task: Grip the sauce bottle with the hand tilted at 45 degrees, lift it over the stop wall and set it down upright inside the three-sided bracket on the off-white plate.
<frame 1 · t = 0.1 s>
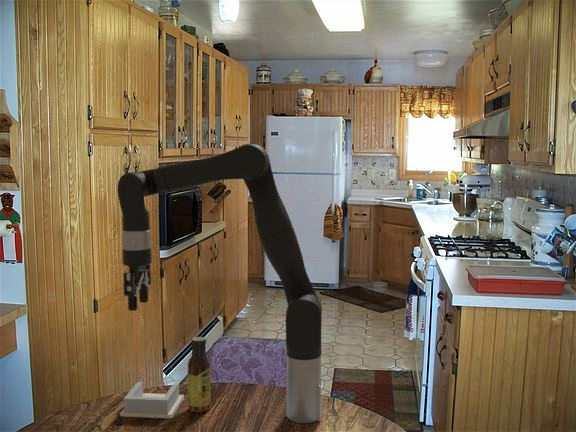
hand: (138, 306, 158), 29 cm above the table, tool pointing down, fingers open, 8 cm apart
sauce bottle: (199, 409, 162), on the table
lock plate: (153, 406, 163), on the table
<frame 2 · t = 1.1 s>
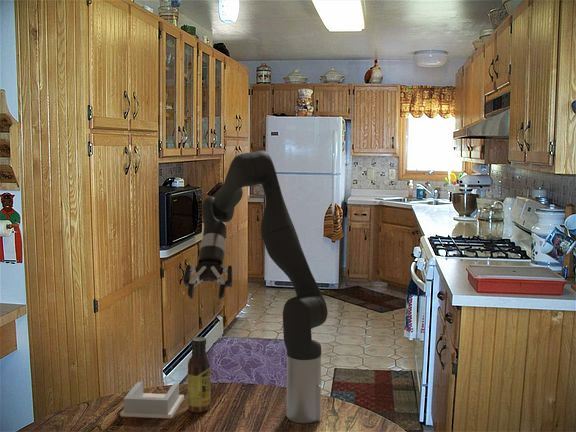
hand: (205, 297, 170), 29 cm above the table, tool tilted 45°, fingers open, 8 cm apart
nothing on the table moved.
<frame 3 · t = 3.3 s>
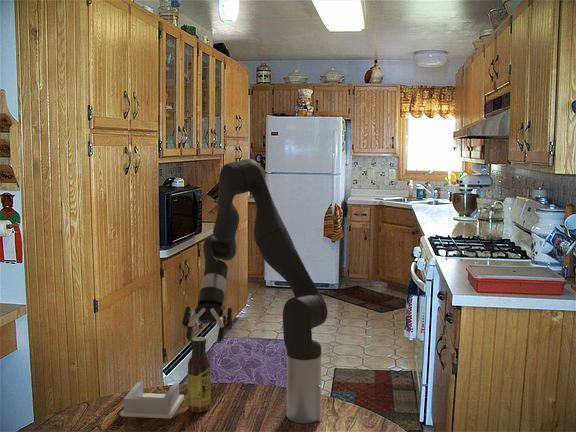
hand: (204, 341, 167), 17 cm above the table, tool tilted 45°, fingers open, 8 cm apart
nothing on the table moved.
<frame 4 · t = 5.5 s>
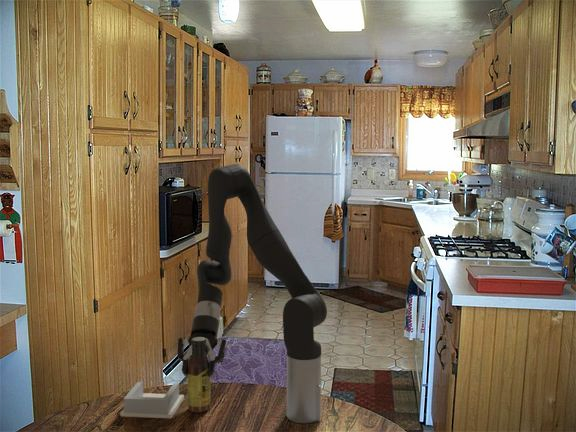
hand: (197, 375, 159), 10 cm above the table, tool tilted 45°, fingers closed on sauce bottle, 6 cm apart
sauce bottle: (199, 409, 162), on the table, touching gripper
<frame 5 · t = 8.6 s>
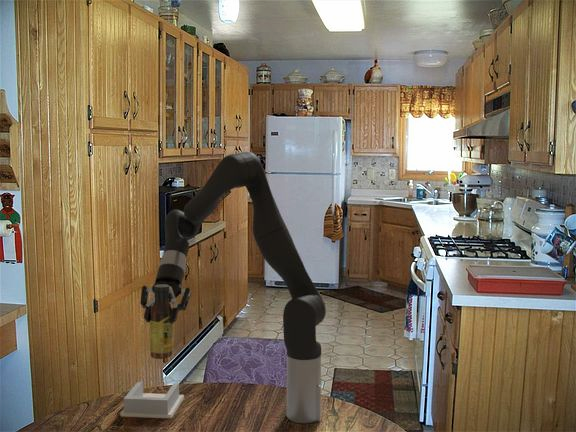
hand: (159, 321, 159), 25 cm above the table, tool tilted 45°, fingers closed on sauce bottle, 6 cm apart
sauce bottle: (161, 356, 162), point 14 cm above the table, touching gripper
when the fingers open (12 cm above the table, at t = 11.8 s): sauce bottle stays where it is, resting on lock plate.
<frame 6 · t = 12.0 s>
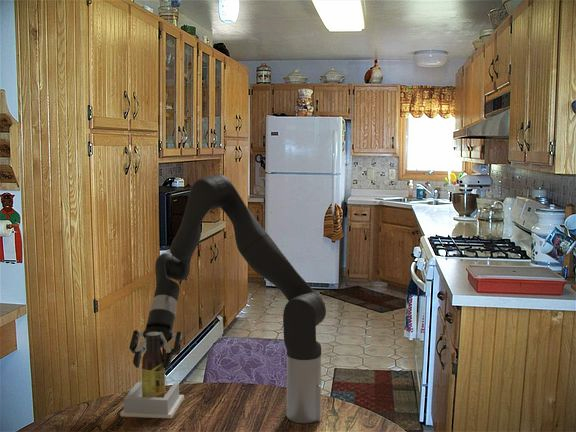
hand: (150, 367, 160), 12 cm above the table, tool tilted 45°, fingers open, 7 cm apart
sauce bottle: (154, 403, 163), point 1 cm above the table, touching lock plate
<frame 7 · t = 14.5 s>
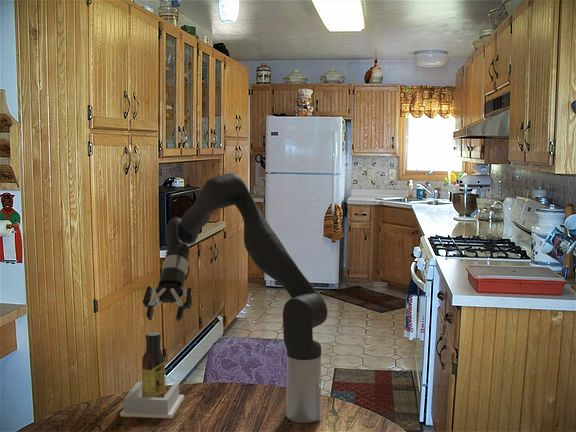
hand: (163, 319, 172), 22 cm above the table, tool tilted 45°, fingers open, 8 cm apart
nothing on the table moved.
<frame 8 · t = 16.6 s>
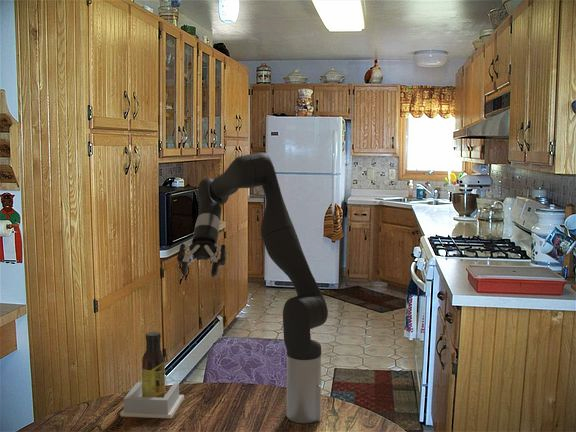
hand: (198, 275, 172), 35 cm above the table, tool tilted 45°, fingers open, 8 cm apart
nothing on the table moved.
at the end: sauce bottle 0.8 cm from the target spot on the lock plate, point 0.8 cm above the lock plate's base; sauce bottle tilted 0°; the gripper is holding nothing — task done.
